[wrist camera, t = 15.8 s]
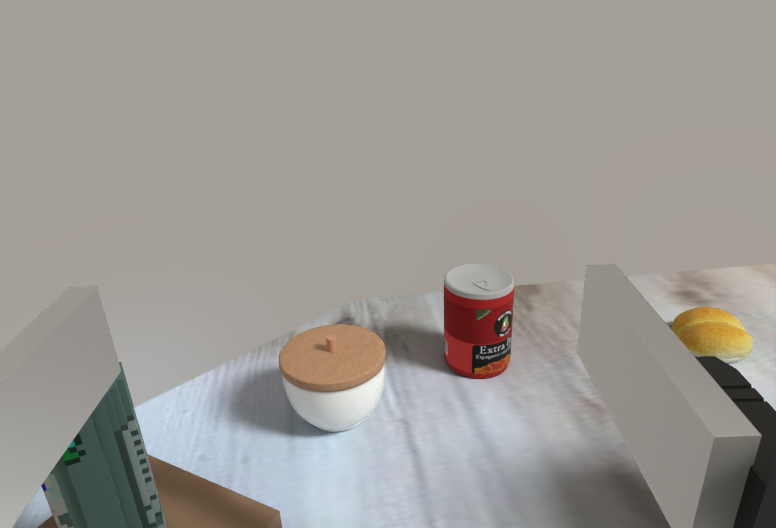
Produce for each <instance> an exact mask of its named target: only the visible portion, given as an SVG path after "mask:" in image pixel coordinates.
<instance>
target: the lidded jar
mask: <svg viewBox="0 0 776 528" xmlns="http://www.w3.org/2000/svg"><path fill="white" fill-rule="evenodd" d="M385 360H386V348H385V345H384V343H383V341H382V339H381V338H380V337H379V336H378V335H376V334H375V333H373V332H372V331H370V330H368V329H365V328H362V327H358V326H353V325H341V324H339V325H327V326H321V327H317V328H313V329H310V330H307V331H305V332H302V333H300V334H298V335H297V336H295V337H294V338H292V339H291V340H290V341H288V342H287V343H286V345H285V346H284V347H283V348H282V350H281V352H280V355H279V367H280V370H281V373H282V378H283V383H284V387H285V390H286V394H287V397H288V399H289V401H290V403H291V405H292V407H293V408H294V410H295V411H296V412H297V413H298V414H299V415H300V416H301V417H302V418H303V419H304V420H305V421H307V422H309V423H310V424H313V425H314V426H315V427H317V428H318V429H321V430H323V431H327V432H342V431H347V430H350V429H352V428H354V427H356V426H358V425H359V424H360V423H361V422H363V420H364V419H365V418H366V417H367V416H368V415H369V414H370V413H372V411H373V410H374V409H375V407H376V406H377V404H378V402H379V400H380V398H381V396H382V392H383V388H384V383H385Z"/></svg>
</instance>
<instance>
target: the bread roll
mask: <svg viewBox="0 0 776 528" xmlns="http://www.w3.org/2000/svg"><path fill="white" fill-rule="evenodd" d="M672 330H673V332H674V333H675V334H676V336H677V337H678V338H679V339H680V340H681V342H682V343H683V344H684V345H685V346H686V347H687V349H688V350H689V351H690V352H691V353H692V354H693V356H694V357H699V356H715V357H717V358H719V359H720V360H722V361H724V362H725V363H735V362H738V361H740V360H742V359H744V358H746V357H747V356H748V355H749V354H750V352H751V350H752V346H753V340H752V338H751V336H750V335H749V334H748V333H747V332H746V331H745V329H744V328H743V326H742V325H741V323H740V322H739V321H738V320H737V319H736V318H735V317H734V316H733V315H731V314H729V313H728V312H725V311H723V310H721V309H718V308H711V307H698V308H694V309H691V310H688V311H685V312H683V313H681V314H680V315H678V316H677V317H676V318H675V319H674V322H673V325H672Z"/></svg>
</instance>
